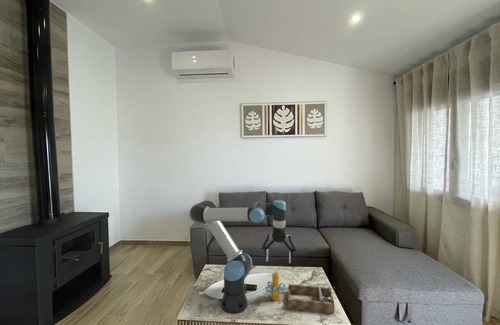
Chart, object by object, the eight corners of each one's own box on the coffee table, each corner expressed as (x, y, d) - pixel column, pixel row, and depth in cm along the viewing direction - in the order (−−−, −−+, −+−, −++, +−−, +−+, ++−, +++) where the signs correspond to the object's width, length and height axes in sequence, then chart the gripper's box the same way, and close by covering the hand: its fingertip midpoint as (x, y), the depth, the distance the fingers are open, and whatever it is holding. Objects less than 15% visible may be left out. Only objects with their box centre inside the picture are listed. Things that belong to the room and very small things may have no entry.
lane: (287, 307, 130) (287, 297, 130) (288, 291, 146) (288, 282, 146) (334, 313, 125) (334, 302, 125) (329, 295, 141) (329, 286, 141)
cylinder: (269, 305, 133) (269, 279, 132) (263, 294, 143) (263, 271, 143) (288, 301, 136) (288, 276, 136) (281, 291, 146) (281, 268, 146)
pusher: (320, 309, 128) (320, 299, 128) (318, 295, 141) (318, 286, 141) (334, 311, 127) (334, 301, 127) (331, 296, 140) (331, 287, 139)
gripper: (257, 227, 136) (257, 262, 137) (300, 229, 133) (299, 265, 134) (259, 223, 144) (258, 257, 144) (299, 225, 140) (298, 260, 141)
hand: (278, 261), depth 139 cm, fingers open, 13 cm apart
